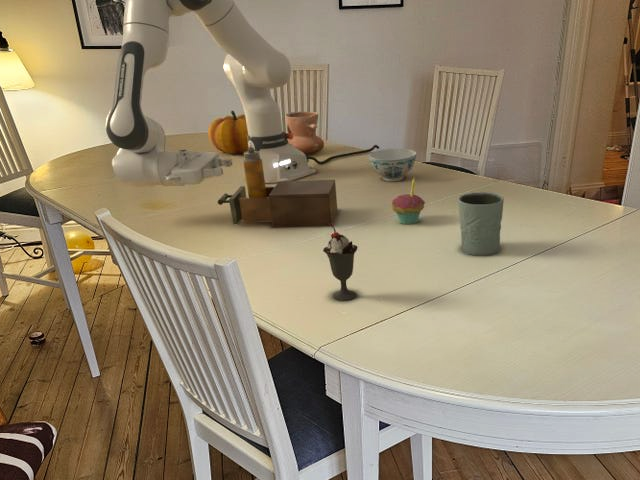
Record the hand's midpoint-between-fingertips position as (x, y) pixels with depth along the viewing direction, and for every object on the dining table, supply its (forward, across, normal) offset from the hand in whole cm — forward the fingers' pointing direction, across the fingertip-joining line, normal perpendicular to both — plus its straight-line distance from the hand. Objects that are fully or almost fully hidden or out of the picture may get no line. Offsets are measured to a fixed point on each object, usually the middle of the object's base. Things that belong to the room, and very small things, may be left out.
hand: (227, 167), depth 170 cm
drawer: (+6, 0, +14) cm, 15 cm away
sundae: (+35, -51, +15) cm, 64 cm away
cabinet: (+20, 0, +14) cm, 24 cm away
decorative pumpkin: (-21, +87, +15) cm, 91 cm away
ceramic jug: (+6, +80, +15) cm, 81 cm away
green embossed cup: (+64, -26, +15) cm, 71 cm away
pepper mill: (+7, 0, +12) cm, 14 cm away
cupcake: (+47, -5, +15) cm, 50 cm away
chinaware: (+42, +39, +15) cm, 59 cm away
